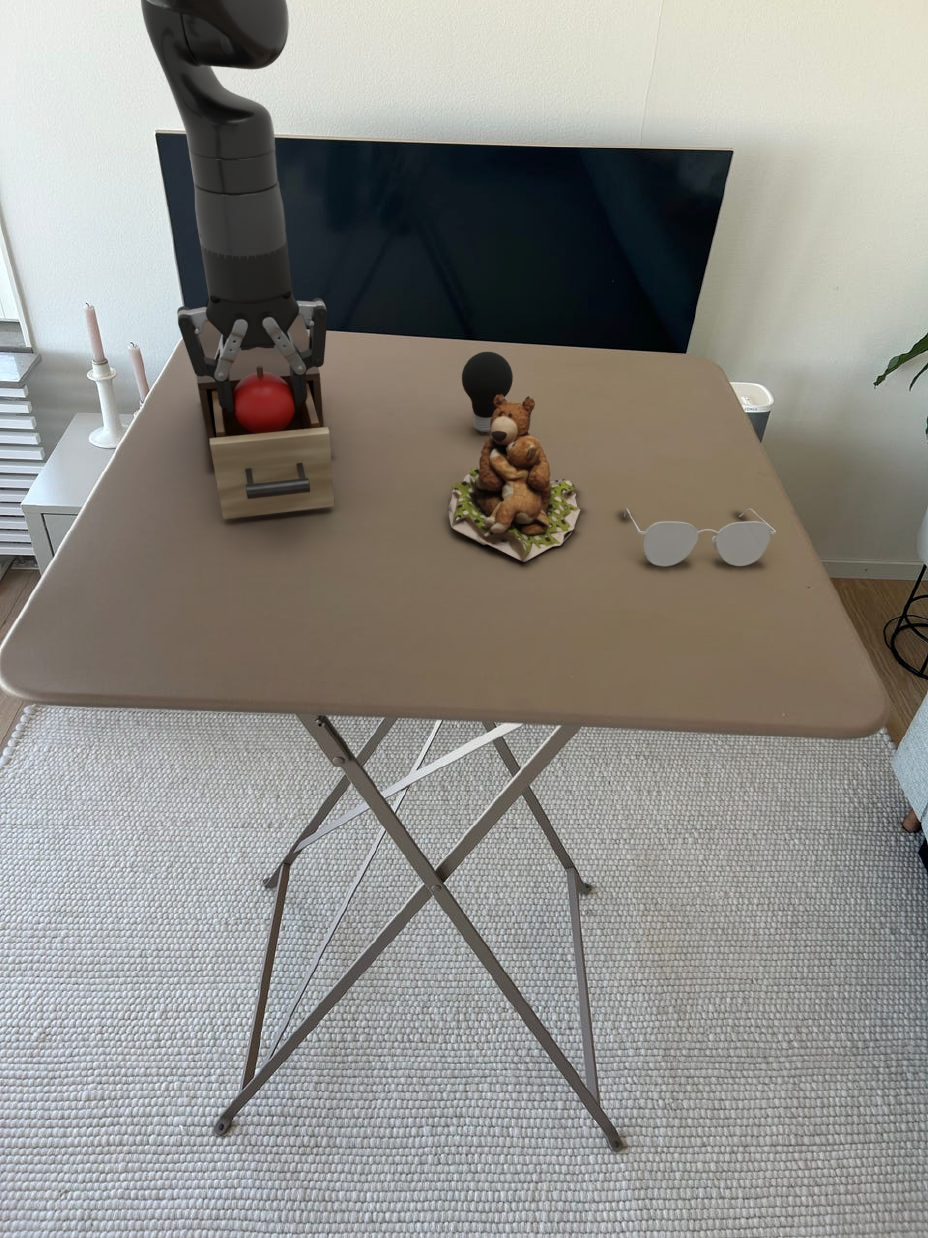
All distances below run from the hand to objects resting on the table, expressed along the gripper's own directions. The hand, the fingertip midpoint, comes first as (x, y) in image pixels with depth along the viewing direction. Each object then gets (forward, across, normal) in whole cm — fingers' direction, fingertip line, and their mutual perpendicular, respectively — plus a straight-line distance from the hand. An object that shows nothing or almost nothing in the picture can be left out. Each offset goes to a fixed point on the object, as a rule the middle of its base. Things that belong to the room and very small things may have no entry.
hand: (264, 406), depth 89 cm
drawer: (+9, 0, -1) cm, 9 cm away
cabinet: (+10, 0, +12) cm, 16 cm away
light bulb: (+10, +26, +7) cm, 28 cm away
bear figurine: (+10, +24, -10) cm, 28 cm away
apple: (+3, 0, 0) cm, 3 cm away
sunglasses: (+10, +41, -18) cm, 46 cm away
